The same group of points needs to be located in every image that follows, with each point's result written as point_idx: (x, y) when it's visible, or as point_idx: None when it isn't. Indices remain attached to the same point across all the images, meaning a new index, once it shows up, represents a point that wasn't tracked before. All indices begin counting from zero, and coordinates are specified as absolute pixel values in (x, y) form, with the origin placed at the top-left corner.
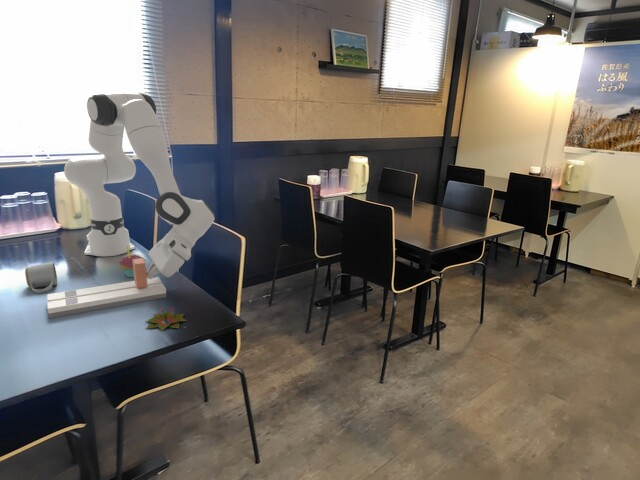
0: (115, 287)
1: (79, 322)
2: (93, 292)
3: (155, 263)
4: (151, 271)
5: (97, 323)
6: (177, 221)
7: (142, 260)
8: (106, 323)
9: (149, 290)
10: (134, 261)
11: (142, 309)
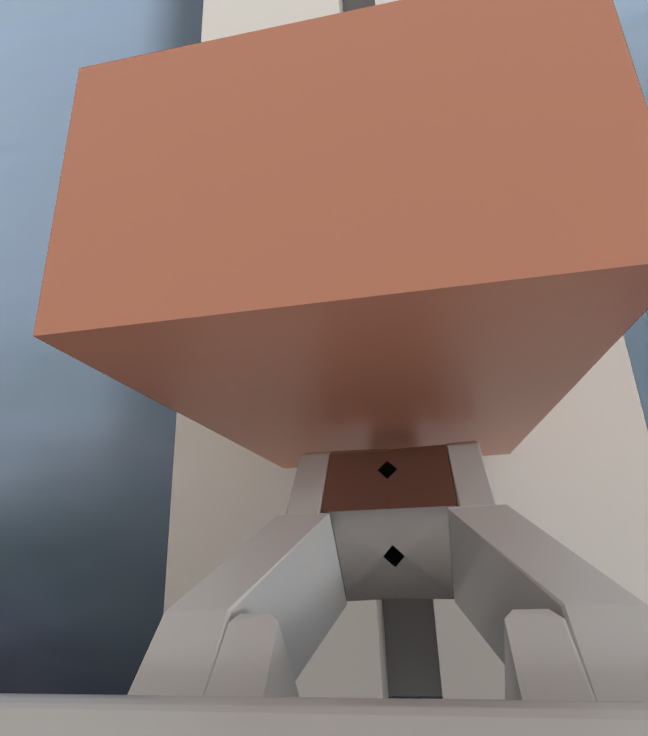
0: None
1: (104, 54)
2: (388, 2)
3: (81, 733)
4: (245, 547)
5: (35, 137)
6: None
7: (326, 254)
8: (4, 181)
9: (199, 484)
10: (328, 34)
11: (69, 403)
